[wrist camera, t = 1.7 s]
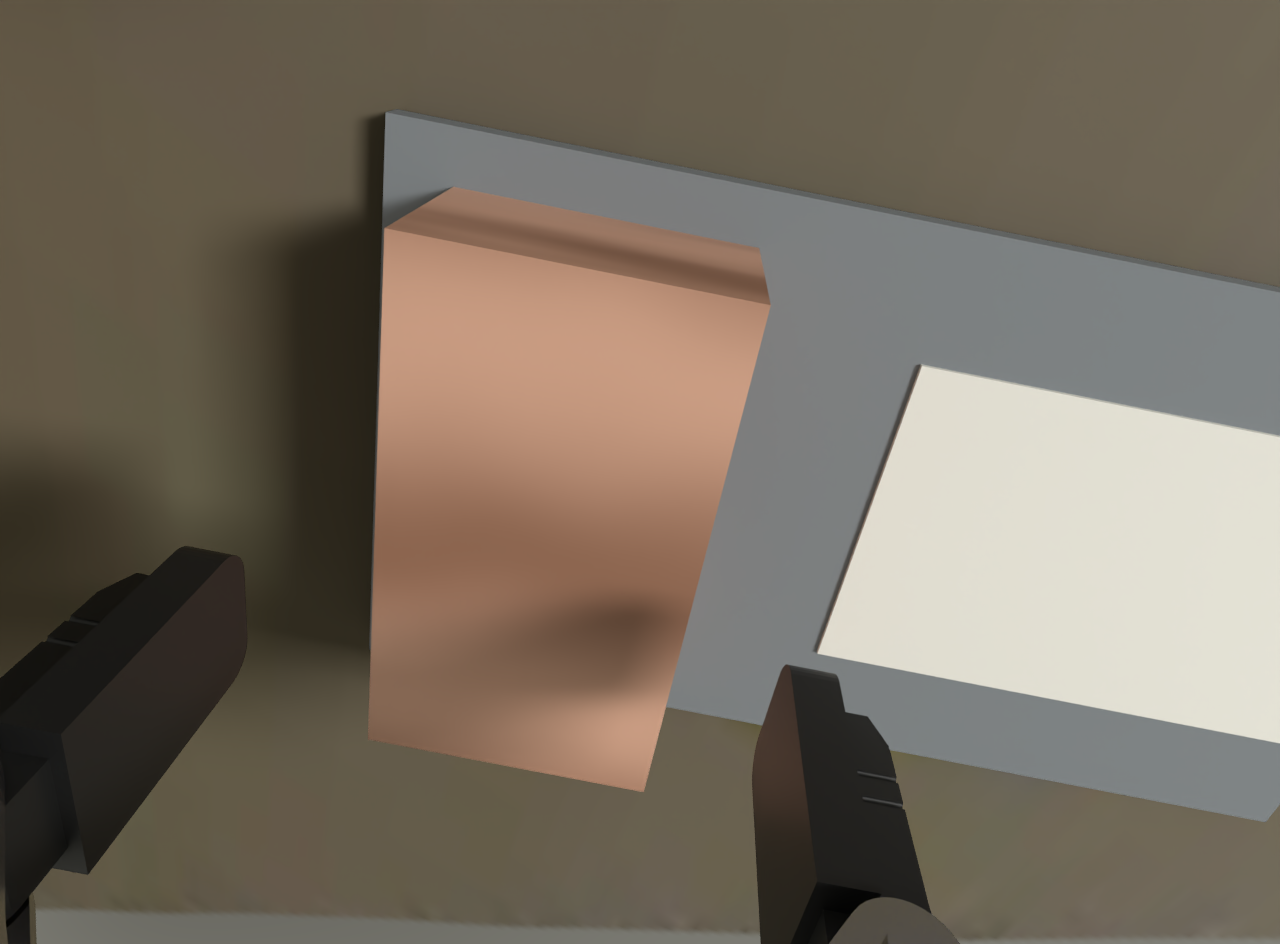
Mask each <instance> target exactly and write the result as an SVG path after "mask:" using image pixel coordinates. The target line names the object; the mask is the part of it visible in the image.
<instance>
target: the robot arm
mask: <svg viewBox="0 0 1280 944" xmlns="http://www.w3.org/2000/svg"><path fill="white" fill-rule="evenodd" d="M246 648H247V620H246V599H245V579H244V566H243V562H242V560H241V559H240V557H238V556H235V555H230V554H225V553H220V552H215V551H209V550H204V549H199V548H194V547H189V546H184V547H181V548H179V549H178V550H176V551H175V552H174V553H173V554H172V555H171V556H170V557H169V558H168V559H167V560H166V561H165V562H163V563H162V564H161V565H160V566H159V567H158V568H157V569H156V570H155V571H154V572H153V573H152V574H151V575H150V576H149V575H144V574H139V573H136V574H134V575H131V576H129V577H127V578H125V579H123V580H121V581H119V582H117V583H115V584H113V585H111V586H109V587H106V588H104V589H102V590H100V591H98V592H97V593H96V594H95V595H94V596H93V597H91V598H90V599H89V600H88V601H87V602H86V603H85V604H84V605H82V606H81V607H80V608H79V609H78V610H77V611H76V612H75V613H73V614H72V615H71V618H70V620H69V621H64V622H63V623H62V624H61V625H60V626H59V627H58V628H56V629H55V630H54V631H53V632H52V633H51V634H50V635H49V636H48V639H47V641H46V642H41V643H40V644H38V645H37V646H36V647H35V648H34V649H33V650H32V651H31V652H29V653H28V654H27V655H26V656H25V657H24V658H23V659H22V660H20V661H19V662H18V663H17V664H16V665H15V666H14V667H13V668H11V669H10V670H9V671H8V672H7V673H6V674H5V675H4V676H2V677H1V678H0V944H36V913H35V900H34V895H33V891H34V890H35V888H36V887H37V886H38V885H39V883H40V882H41V881H42V880H43V878H44V877H45V876H46V875H47V873H48V872H49V871H50V870H51V868H55V869H60V870H65V871H71V872H76V873H81V874H87V875H88V874H89V873H90V871H91V870H92V869H93V867H94V866H95V865H96V864H97V862H98V861H99V860H100V858H101V857H102V856H103V854H104V853H105V852H106V850H107V849H108V848H109V846H110V845H111V844H112V842H113V841H114V840H115V838H116V837H117V836H118V834H119V833H120V832H121V830H122V829H123V828H124V826H125V825H126V824H127V822H128V821H129V820H130V818H131V817H132V816H133V814H134V813H135V812H136V810H137V809H138V808H139V806H140V805H141V804H142V802H143V801H144V800H145V798H146V797H147V796H148V794H149V793H150V792H151V790H152V789H153V788H154V787H155V785H156V784H157V783H158V781H159V780H160V779H161V777H162V776H163V775H164V773H165V772H166V771H167V769H168V768H169V767H170V765H171V764H172V763H173V761H174V760H175V759H176V757H177V756H178V755H179V753H180V752H181V751H182V749H183V748H184V747H185V745H186V744H187V743H188V741H189V740H190V739H191V737H192V736H193V735H194V733H195V732H196V731H197V729H198V728H199V727H200V725H201V724H202V723H203V721H204V720H205V719H206V717H207V716H208V715H209V713H210V712H211V711H212V710H213V708H214V707H215V706H216V704H217V703H218V702H219V700H220V699H221V698H222V696H223V695H224V694H225V692H226V691H227V690H228V688H229V687H230V686H231V684H232V683H233V681H234V680H235V678H236V676H237V675H238V673H239V671H240V668H241V666H242V663H243V660H244V657H245V653H246ZM752 790H753V808H754V827H755V845H756V864H757V882H758V900H759V919H760V937H761V944H960V943H959V942H958V941H957V939H956V938H955V937H954V935H953V934H952V933H951V932H950V930H949V929H948V928H947V927H946V926H945V925H944V924H943V923H942V922H941V921H939V920H938V919H937V918H936V917H935V916H933V915H932V914H931V911H930V908H929V904H928V900H927V896H926V892H925V888H924V884H923V880H922V876H921V872H920V868H919V864H918V860H917V856H916V852H915V849H914V845H913V841H912V837H911V833H910V829H909V825H908V821H907V817H906V813H905V810H904V809H902V805H903V801H902V797H901V793H900V789H899V785H898V783H896V773H895V769H894V765H893V761H892V757H891V753H890V749H889V746H888V744H887V743H886V742H885V740H884V739H883V737H882V736H881V735H880V733H879V732H878V730H877V729H876V727H875V726H874V725H873V723H872V722H871V720H870V719H869V718H868V716H863V715H858V714H853V713H848V712H845V707H844V702H843V697H842V692H841V687H840V682H839V679H838V676H837V675H836V674H834V673H829V672H824V671H819V670H814V669H808V668H803V667H798V666H793V665H788V664H786V665H785V666H784V667H783V668H782V670H781V672H780V675H779V678H778V681H777V684H776V687H775V690H774V693H773V696H772V699H771V702H770V705H769V708H768V711H767V714H766V717H765V720H764V723H763V726H762V729H761V731H760V734H759V738H758V741H757V745H756V749H755V755H754V762H753V772H752Z"/></svg>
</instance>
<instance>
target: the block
mask: <svg viewBox="0 0 1280 944" xmlns="http://www.w3.org/2000/svg"><path fill="white" fill-rule="evenodd" d="M770 306H771V304H770V299H769V294H768V289H767V284H766V279H765V274H764V269H763V265H762V260H761V255H760V250H759V248H756V247H751V246H746V245H741V244H736V243H731V242H726V241H721V240H716V239H711V238H707V237H702V236H697V235H692V234H687V233H682V232H677V231H672V230H667V229H662V228H657V227H652V226H647V225H642V224H637V223H632V222H627V221H622V220H617V219H612V218H607V217H602V216H597V215H592V214H587V213H582V212H577V211H572V210H567V209H562V208H557V207H552V206H547V205H542V204H537V203H532V202H527V201H522V200H517V199H512V198H507V197H502V196H497V195H492V194H487V193H482V192H477V191H472V190H467V189H462V188H457V187H452V188H451V189H449V190H447V191H446V192H444V193H442V194H441V195H439V196H437V197H436V198H434V199H432V200H431V201H429V202H427V203H426V204H424V205H422V206H421V207H419V208H417V209H416V210H414V211H412V212H411V213H409V214H407V215H405V216H404V217H402V218H400V219H399V220H397V221H395V222H394V223H392V224H390V225H389V226H387V227H385V228H384V257H383V288H382V319H381V351H380V382H379V413H378V445H377V476H376V508H375V539H374V570H373V602H372V633H371V664H370V696H369V727H368V740H374V741H379V742H384V743H389V744H395V745H400V746H405V747H410V748H415V749H421V750H426V751H431V752H436V753H442V754H447V755H452V756H457V757H463V758H468V759H473V760H478V761H484V762H489V763H494V764H499V765H505V766H510V767H515V768H520V769H525V770H531V771H536V772H541V773H546V774H552V775H557V776H562V777H567V778H573V779H578V780H583V781H588V782H594V783H599V784H604V785H609V786H614V787H620V788H625V789H630V790H635V791H641V792H644V789H645V785H646V781H647V777H648V773H649V769H650V766H651V762H652V758H653V754H654V750H655V747H656V743H657V739H658V735H659V731H660V727H661V724H662V720H663V716H664V712H665V708H666V704H667V701H668V697H669V693H670V689H671V685H672V681H673V678H674V674H675V670H676V666H677V662H678V659H679V655H680V651H681V647H682V643H683V639H684V636H685V632H686V628H687V624H688V620H689V616H690V613H691V609H692V605H693V601H694V597H695V593H696V590H697V586H698V582H699V578H700V574H701V570H702V567H703V563H704V559H705V555H706V551H707V548H708V544H709V540H710V536H711V532H712V528H713V525H714V521H715V517H716V513H717V509H718V505H719V502H720V498H721V494H722V490H723V486H724V482H725V479H726V475H727V471H728V467H729V463H730V460H731V456H732V452H733V448H734V444H735V440H736V437H737V433H738V429H739V425H740V421H741V417H742V414H743V410H744V406H745V402H746V398H747V394H748V391H749V387H750V383H751V379H752V375H753V372H754V368H755V364H756V360H757V356H758V352H759V349H760V345H761V341H762V337H763V333H764V329H765V326H766V322H767V318H768V314H769V310H770Z"/></svg>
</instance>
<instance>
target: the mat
mask: <svg viewBox="0 0 1280 944" xmlns="http://www.w3.org/2000/svg"><path fill="white" fill-rule="evenodd" d="M452 187H457V188H462V189H467V190H472V191H477V192H482V193H487V194H492V195H497V196H502V197H507V198H512V199H517V200H522V201H527V202H532V203H537V204H542V205H547V206H552V207H557V208H562V209H567V210H572V211H577V212H582V213H587V214H592V215H597V216H602V217H607V218H612V219H617V220H622V221H627V222H632V223H637V224H642V225H647V226H652V227H657V228H662V229H667V230H672V231H677V232H682V233H687V234H692V235H697V236H702V237H707V238H711V239H716V240H721V241H726V242H731V243H736V244H741V245H746V246H751V247H756V248H759V250H760V255H761V260H762V265H763V269H764V274H765V279H766V284H767V289H768V294H769V299H770V304H771V306H770V310H769V314H768V318H767V322H766V326H765V329H764V333H763V337H762V341H761V345H760V349H759V352H758V356H757V360H756V364H755V368H754V372H753V375H752V379H751V383H750V387H749V391H748V394H747V398H746V402H745V406H744V410H743V414H742V417H741V421H740V425H739V429H738V433H737V437H736V440H735V444H734V448H733V452H732V456H731V460H730V463H729V467H728V471H727V475H726V479H725V482H724V486H723V490H722V494H721V498H720V502H719V505H718V509H717V513H716V517H715V521H714V525H713V528H712V532H711V536H710V540H709V544H708V548H707V551H706V555H705V559H704V563H703V567H702V570H701V574H700V578H699V582H698V586H697V590H696V593H695V597H694V601H693V605H692V609H691V613H690V616H689V620H688V624H687V628H686V632H685V636H684V639H683V643H682V647H681V651H680V655H679V659H678V662H677V666H676V670H675V674H674V678H673V681H672V685H671V689H670V693H669V697H668V701H667V704H666V707H670V708H675V709H680V710H685V711H691V712H696V713H701V714H706V715H711V716H717V717H722V718H727V719H732V720H737V721H743V722H748V723H753V724H758V725H763V723H764V720H765V717H766V714H767V711H768V708H769V705H770V702H771V699H772V696H773V693H774V690H775V687H776V684H777V681H778V678H779V675H780V672H781V670H782V668H783V667H784V666H785V665H786V664H788V665H793V666H798V667H803V668H808V669H814V670H819V671H824V672H829V673H834V674H836V675H837V676H838V679H839V682H840V687H841V692H842V697H843V702H844V707H845V712H848V713H853V714H858V715H863V716H868V718H869V719H870V720H871V722H872V723H873V725H874V726H875V727H876V729H877V730H878V732H879V733H880V735H881V736H882V737H883V739H884V740H885V742H886V743H887V744H888V746H889V749H890V750H893V751H898V752H904V753H909V754H914V755H919V756H924V757H930V758H935V759H940V760H945V761H950V762H956V763H961V764H966V765H971V766H976V767H982V768H987V769H992V770H997V771H1002V772H1008V773H1013V774H1018V775H1023V776H1028V777H1034V778H1039V779H1044V780H1049V781H1054V782H1060V783H1065V784H1070V785H1075V786H1080V787H1086V788H1091V789H1096V790H1101V791H1106V792H1111V793H1117V794H1122V795H1127V796H1132V797H1137V798H1143V799H1148V800H1153V801H1158V802H1163V803H1169V804H1174V805H1179V806H1184V807H1189V808H1195V809H1200V810H1205V811H1210V812H1215V813H1221V814H1226V815H1231V816H1236V817H1241V818H1247V819H1252V820H1257V821H1262V822H1266V821H1267V820H1268V818H1269V817H1270V816H1271V815H1272V813H1273V812H1274V811H1275V810H1276V808H1277V807H1278V806H1279V804H1280V287H1276V286H1271V285H1266V284H1261V283H1256V282H1251V281H1246V280H1241V279H1236V278H1231V277H1226V276H1221V275H1216V274H1212V273H1207V272H1202V271H1197V270H1192V269H1187V268H1182V267H1177V266H1172V265H1167V264H1162V263H1157V262H1152V261H1147V260H1142V259H1137V258H1132V257H1127V256H1122V255H1117V254H1112V253H1107V252H1103V251H1098V250H1093V249H1088V248H1083V247H1078V246H1073V245H1068V244H1063V243H1058V242H1053V241H1048V240H1043V239H1038V238H1033V237H1028V236H1023V235H1018V234H1013V233H1008V232H1003V231H998V230H993V229H989V228H984V227H979V226H974V225H969V224H964V223H959V222H954V221H949V220H944V219H939V218H934V217H929V216H924V215H919V214H914V213H909V212H904V211H899V210H894V209H889V208H884V207H880V206H875V205H870V204H865V203H860V202H855V201H850V200H845V199H840V198H835V197H830V196H825V195H820V194H815V193H810V192H805V191H800V190H795V189H790V188H785V187H780V186H775V185H770V184H766V183H761V182H756V181H751V180H746V179H741V178H736V177H731V176H726V175H721V174H716V173H711V172H706V171H701V170H696V169H691V168H686V167H681V166H676V165H671V164H666V163H661V162H657V161H652V160H647V159H642V158H637V157H632V156H627V155H622V154H617V153H612V152H607V151H602V150H597V149H592V148H587V147H582V146H577V145H572V144H567V143H562V142H557V141H552V140H547V139H543V138H538V137H533V136H528V135H523V134H518V133H513V132H508V131H503V130H498V129H493V128H488V127H483V126H478V125H473V124H468V123H463V122H458V121H453V120H448V119H443V118H438V117H434V116H429V115H424V114H419V113H414V112H409V111H404V110H399V109H396V110H392V111H388V112H386V115H385V148H384V181H383V214H382V246H381V279H380V312H379V344H378V377H377V410H376V443H375V475H374V508H373V541H372V574H371V606H370V639H369V650H371V633H372V602H373V570H374V539H375V508H376V476H377V445H378V413H379V382H380V351H381V319H382V288H383V257H384V228H385V227H387V226H389V225H390V224H392V223H394V222H395V221H397V220H399V219H400V218H402V217H404V216H405V215H407V214H409V213H411V212H412V211H414V210H416V209H417V208H419V207H421V206H422V205H424V204H426V203H427V202H429V201H431V200H432V199H434V198H436V197H437V196H439V195H441V194H442V193H444V192H446V191H447V190H449V189H451V188H452Z"/></svg>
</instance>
